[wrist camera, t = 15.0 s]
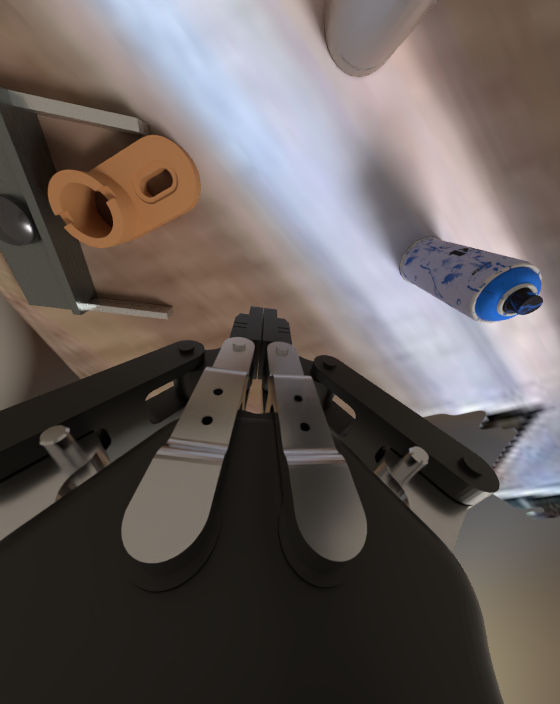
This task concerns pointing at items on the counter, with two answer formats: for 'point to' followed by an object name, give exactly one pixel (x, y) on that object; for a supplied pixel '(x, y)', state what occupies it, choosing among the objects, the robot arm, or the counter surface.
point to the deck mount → (49, 209)
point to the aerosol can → (473, 279)
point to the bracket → (126, 192)
